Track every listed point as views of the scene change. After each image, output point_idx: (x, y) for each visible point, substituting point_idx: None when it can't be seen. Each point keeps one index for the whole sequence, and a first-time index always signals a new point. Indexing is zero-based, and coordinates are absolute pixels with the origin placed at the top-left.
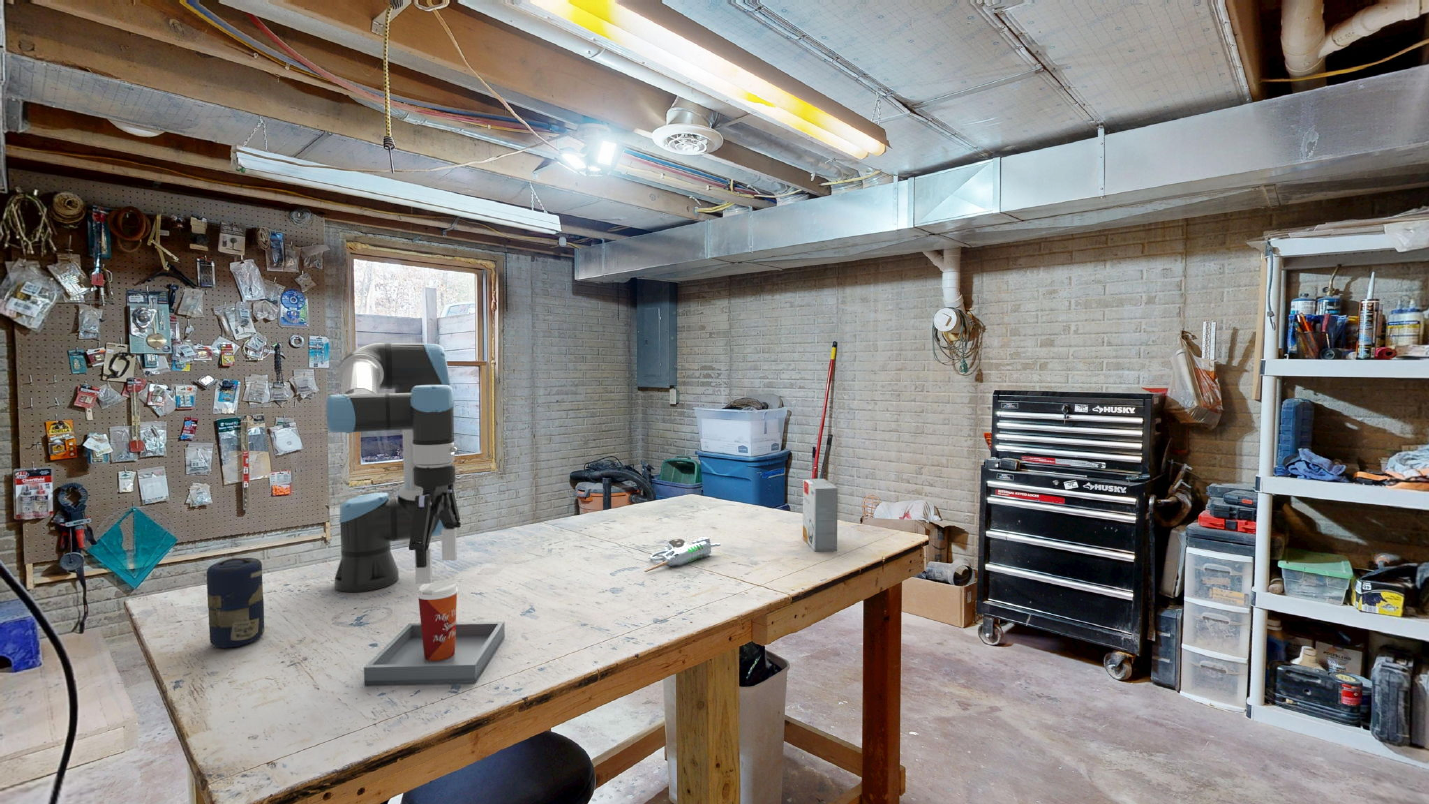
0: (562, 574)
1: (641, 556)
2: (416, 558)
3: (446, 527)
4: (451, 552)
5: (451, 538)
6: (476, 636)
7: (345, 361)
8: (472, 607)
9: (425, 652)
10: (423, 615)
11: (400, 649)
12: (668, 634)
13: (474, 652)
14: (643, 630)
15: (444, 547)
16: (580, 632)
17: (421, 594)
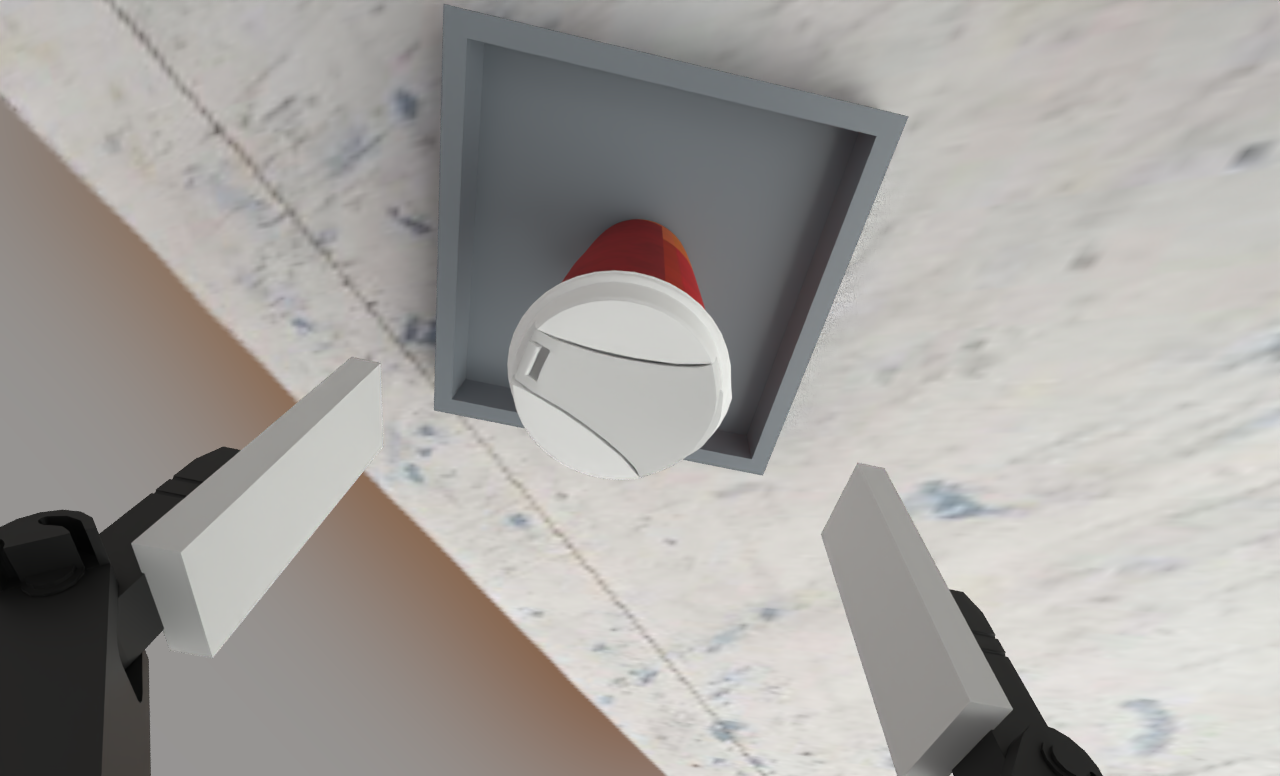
0: (1265, 600)
1: (1247, 773)
2: (140, 505)
3: (995, 749)
4: (845, 559)
5: (882, 667)
6: (761, 373)
7: None
8: (1122, 329)
9: (602, 233)
10: (562, 281)
11: (735, 104)
12: (644, 728)
13: None
14: (682, 700)
15: (884, 552)
16: (718, 603)
17: (540, 315)
